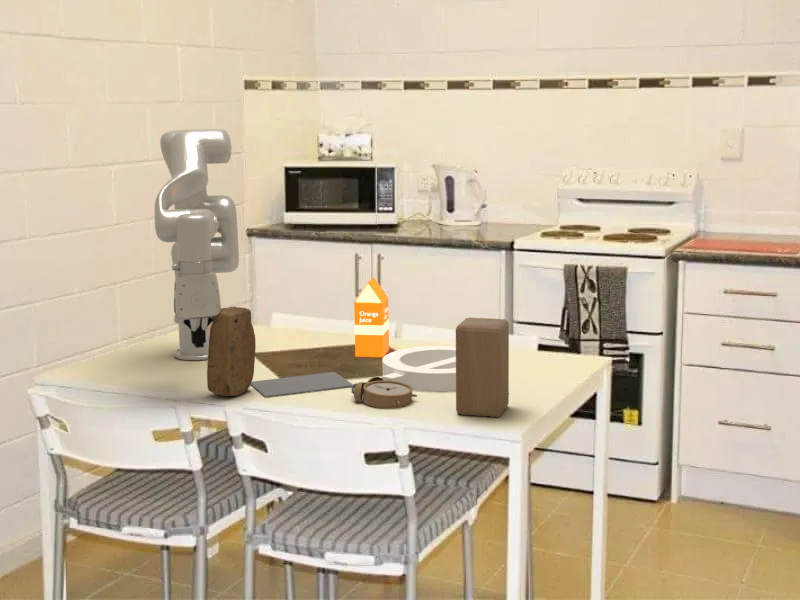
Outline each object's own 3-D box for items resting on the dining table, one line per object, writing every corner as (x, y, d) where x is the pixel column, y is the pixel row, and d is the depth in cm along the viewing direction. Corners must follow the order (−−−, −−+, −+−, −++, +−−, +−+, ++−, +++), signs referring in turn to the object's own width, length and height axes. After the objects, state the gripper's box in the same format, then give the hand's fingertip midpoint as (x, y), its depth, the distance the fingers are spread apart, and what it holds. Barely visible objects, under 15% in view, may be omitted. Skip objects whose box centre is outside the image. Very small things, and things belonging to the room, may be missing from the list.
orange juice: (389, 349, 313) (388, 276, 309) (383, 357, 304) (382, 282, 301) (361, 348, 314) (359, 276, 310) (354, 356, 306) (352, 282, 302)
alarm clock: (396, 399, 255) (341, 379, 262) (393, 420, 256) (338, 399, 264) (423, 387, 264) (369, 368, 271) (420, 407, 265) (366, 387, 273)
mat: (248, 383, 280) (248, 381, 280) (334, 373, 289) (334, 371, 289) (265, 397, 268) (265, 396, 268) (354, 386, 276) (354, 385, 276)
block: (226, 399, 265) (231, 313, 262) (202, 392, 269) (206, 308, 266) (257, 391, 274) (262, 308, 270) (233, 385, 278) (238, 303, 274)
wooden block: (465, 403, 261) (465, 316, 257) (509, 406, 258) (509, 318, 254) (455, 415, 252) (454, 325, 248) (500, 418, 249) (500, 328, 245)
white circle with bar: (381, 393, 271) (381, 374, 270) (383, 364, 298) (383, 346, 298) (500, 392, 271) (501, 372, 270) (492, 363, 298) (492, 345, 297)
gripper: (165, 272, 257) (169, 353, 260) (231, 267, 262) (234, 346, 266) (159, 267, 264) (163, 346, 267) (223, 263, 269) (226, 340, 273)
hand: (198, 346), depth 266 cm, fingers closed
